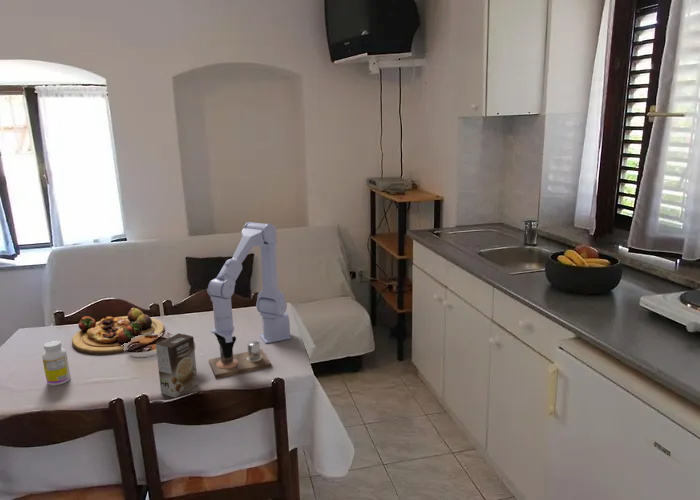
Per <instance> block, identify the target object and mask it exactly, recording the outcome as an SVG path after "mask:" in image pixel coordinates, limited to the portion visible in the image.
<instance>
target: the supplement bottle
mask: <svg viewBox="0 0 700 500" xmlns="http://www.w3.org/2000/svg"><path fill="white" fill-rule="evenodd" d="M43 348H44V349H43V350H45V351H44V352H43V353H42V356H41V358H42V364H43V367H44V368H43V369H44V374H45V378H46V379H45V380H46V384H47V385H48V386H53V387H55V386H60V385H64V384H65V383H67V382H69V381H70V379H71V372H70V366H69V360H68V354H67V351H66V349H65V348H63V347H62V341H60V340H51V341H48V342H45V343H44V345H43Z"/></svg>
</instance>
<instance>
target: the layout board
mask: <svg viewBox="0 0 700 500" xmlns="http://www.w3.org/2000/svg"><path fill="white" fill-rule="evenodd" d="M260 344H261V343H260V341H255V340H254V341H249V342H247V346H246V347H247V351H244V352H240V353H239V352H238V353H235V354H234V353H233V359H234V361H233V362H231V363H228V364H223V363H221V356H219V357H214V358H209V359H208V365H209V366H210V369H211V371H212V373H213V376H214V378H215V379H219V378H224V377H229V376H234V375H239V374H242V373H247V372H254V371H257V370H262V369H267V368H271V367H272V362H271V361H270V359H269V357H268V356H267V355H266V353H265V352H264V350H263V349H262V348H261V345H260Z"/></svg>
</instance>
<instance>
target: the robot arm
mask: <svg viewBox="0 0 700 500" xmlns="http://www.w3.org/2000/svg"><path fill="white" fill-rule="evenodd" d="M277 243H278V242H277V228H276V226H274V225H273V224H272V223H262V222H252V221H248V222H247V221H246V223H245V224H244V225H243V228H242V230H241V238H240V241H239V243H238V245H237V247H236V249H235V251H234V253H233V256H232V258H229V259H227V260H226V261H225V263H224V264H223V266H222V267H221V269H220V271H219V272H218V274H217V276H216V277H215V278H213V279H212V280H210V281H209V283H208V286H207V289H206V292H207V294H208V295H209V297H210V301H211V302H212V308H213V320H214V328H213V329H211V330H210V331H211V334H214V335H215V337H216V340H217V342H218V344H219V343H220V345H221V347H222V351H223V355H224V357H225V359H226V358H231V357H232V350H233V351H234V346H235V343H236V340H237V337H236V336H233V334H234V332H235V326H234V319H233V308H232V307H233V306H232V296H233V295H234V293H235V286H236V281H237V279H238V278H239V276H240V274H241V272H242V271H243V264H242V263H243V262H244V261H245V260H246V258H247V256H248V255H249V253H250V252H251V251H252V249H253V248H254V247H256V246H258V247H259V248H260V256H261V257H260V258H261V259H260V261H261V279H262V280H261V281H262V283H261V284H262V290H260V292H259V293H258V294H257V300H256V304H255V306H256V311H257V312H258V313H259V315H260V316H261V319H262V320H261V322H262V333H261V334H260V335H259V336H260V337H261V339H262V340H263V341H264V343H265V344H269V343H270V344H271V343H275V342H281V341H285V340H290V339H292V337H291V325H290V318H289V314H288V313H287V312H286V311H287V307H288V304H287V301H286V297H285V293H284V292H282V291H281V290H280V289H279V288H278V287H279V286H278V262H277Z"/></svg>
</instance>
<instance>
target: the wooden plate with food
mask: <svg viewBox="0 0 700 500" xmlns="http://www.w3.org/2000/svg"><path fill="white" fill-rule="evenodd" d="M78 328H79V330H78V331H77V332H76V333H75V334H74V335H73V337H72V338H71V345H72V347H73V348H74V349H75V350H77V351H78V352H80V353H83V354H86V355H96V356H98V355H99V356H100V355H101V356H102V355H115V354H122V353H125V352H124V350H123V349H124V345H123V344H124V343H128V342H130V341H131V338H133V337H135V336H138V335H142V334H147V333H152V332H154V333H157V334H161V333H163V334H164V332H165V325H164V323H163V322H162V321H160V320H159V319H156V318H154V317H151V316H149V315H148V314H144V312H143V311H142V310H140V308H139V309H138V308H136V307H132V308H130V310H129V311H128V313H127V315H126V316H116V317H113V316H106V317H105V318H104V317H103V318H102V319H100V320H99V321H97V320H95V319H94V318H93V317H91V316H82V318H81V319H80V321H79V322H78ZM121 345H123V346H121Z"/></svg>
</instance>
